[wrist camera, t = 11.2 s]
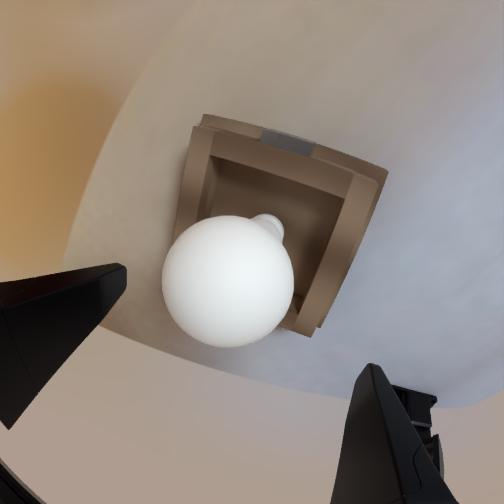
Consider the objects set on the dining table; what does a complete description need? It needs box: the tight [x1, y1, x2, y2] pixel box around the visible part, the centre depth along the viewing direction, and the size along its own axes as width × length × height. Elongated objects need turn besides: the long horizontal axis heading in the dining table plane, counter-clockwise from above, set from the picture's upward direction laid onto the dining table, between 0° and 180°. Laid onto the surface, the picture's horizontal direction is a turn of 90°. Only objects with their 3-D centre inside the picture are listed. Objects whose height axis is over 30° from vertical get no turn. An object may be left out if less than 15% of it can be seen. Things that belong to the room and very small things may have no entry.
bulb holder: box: [172, 114, 388, 338], centre depth 20 cm, size 13×13×4 cm
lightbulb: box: [162, 214, 294, 347], centre depth 16 cm, size 6×6×11 cm
